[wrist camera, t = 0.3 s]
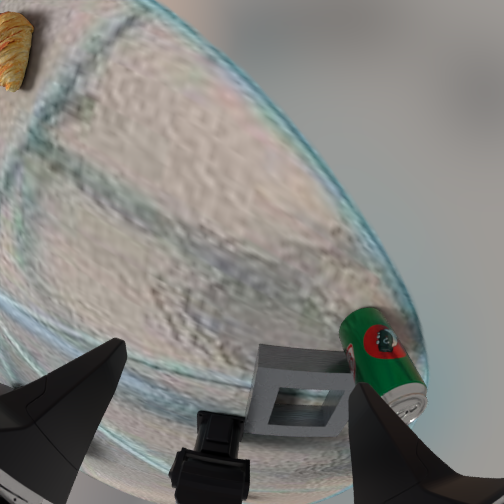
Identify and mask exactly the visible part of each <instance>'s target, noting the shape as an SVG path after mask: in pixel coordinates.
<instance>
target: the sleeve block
mask: <svg viewBox="0 0 504 504" xmlns="http://www.w3.org/2000/svg"><path fill="white" fill-rule="evenodd" d="M279 387H284V388H297V389H316V390H329V393H328V395H327V397H326V399H325V401H324V403H323V405H322V406H306V405H288V404H275V400H276V397H277V394H278V391H279ZM354 387H355V383H354V380H353V377H352V374H351V371H350V367H349V364H348V361H347V358H346V355H345V353H344V352H339V351H323V350H310V349H299V348H288V347H279V346H270V345H262V344H259V349H258V354H257V359H256V364H255V369H254V374H253V379H252V384H251V389H250V393H249V398H248V403H247V408H246V413H245V423H244V433H252V434H262V435H275V436H295V437H333V436H338V435H339V433H340V432H341V430H342V429H343V427H344V426H345V424H346V423H347V421H348V420H349V412H348V399H349V395H350V393H351V392H352V390H353V389H354Z"/></svg>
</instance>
